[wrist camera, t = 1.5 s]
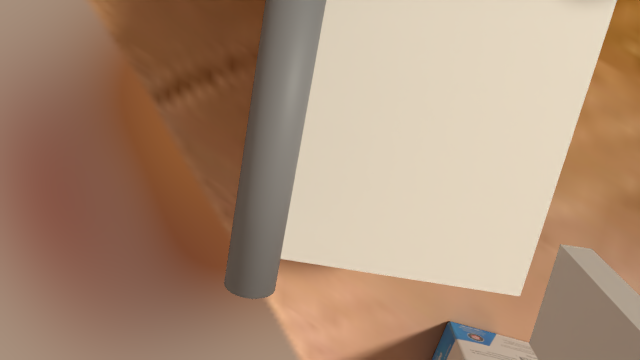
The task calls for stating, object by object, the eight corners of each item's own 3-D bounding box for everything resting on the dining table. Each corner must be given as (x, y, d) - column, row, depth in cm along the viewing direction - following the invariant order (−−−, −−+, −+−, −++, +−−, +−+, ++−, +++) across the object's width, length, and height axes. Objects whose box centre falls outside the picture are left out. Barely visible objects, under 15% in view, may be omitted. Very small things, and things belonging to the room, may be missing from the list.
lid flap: (288, -88, 27) (280, -114, 20) (613, -22, 28) (725, -23, 21) (238, 243, 33) (216, 325, 25) (514, 287, 34) (574, 377, 26)
